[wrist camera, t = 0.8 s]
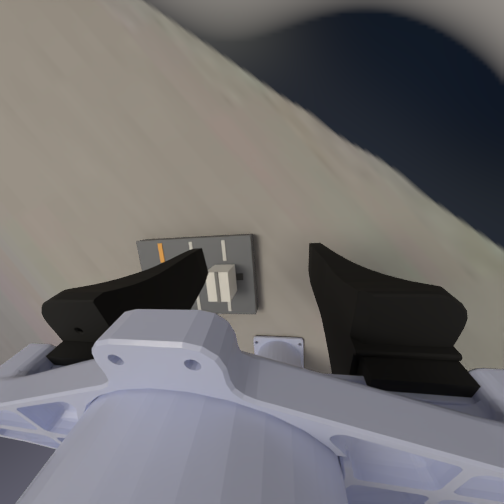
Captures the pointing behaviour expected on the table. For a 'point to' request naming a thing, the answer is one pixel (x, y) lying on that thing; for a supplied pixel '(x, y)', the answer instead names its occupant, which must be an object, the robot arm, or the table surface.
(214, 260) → the panel
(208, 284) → the fader
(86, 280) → the table surface
